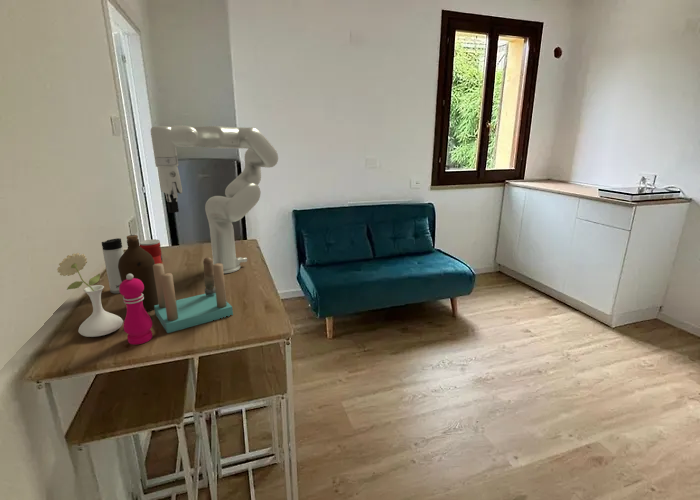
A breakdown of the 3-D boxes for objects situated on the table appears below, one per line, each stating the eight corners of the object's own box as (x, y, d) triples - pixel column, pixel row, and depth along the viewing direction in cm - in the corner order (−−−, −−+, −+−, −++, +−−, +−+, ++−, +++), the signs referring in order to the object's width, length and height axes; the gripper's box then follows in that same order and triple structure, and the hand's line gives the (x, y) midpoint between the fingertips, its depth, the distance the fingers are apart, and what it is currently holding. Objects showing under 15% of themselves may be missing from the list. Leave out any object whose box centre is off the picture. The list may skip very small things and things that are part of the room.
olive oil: (167, 303, 136) (157, 233, 128) (142, 316, 126) (129, 241, 119) (145, 298, 139) (134, 230, 132) (118, 310, 130) (104, 238, 123)
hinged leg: (213, 291, 137) (210, 255, 132) (216, 294, 135) (213, 258, 130) (204, 293, 135) (201, 256, 130) (207, 296, 133) (204, 260, 128)
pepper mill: (133, 333, 116) (121, 269, 110) (158, 332, 116) (148, 269, 110) (121, 346, 109) (108, 278, 103) (148, 345, 109) (137, 278, 103)
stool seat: (216, 298, 139) (211, 253, 134) (233, 315, 127) (228, 265, 122) (155, 313, 128) (147, 264, 123) (167, 333, 116) (159, 279, 111)
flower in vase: (117, 318, 125) (103, 243, 117) (129, 331, 117) (114, 251, 110) (68, 332, 116) (50, 252, 109) (77, 347, 108) (58, 261, 101)
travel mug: (122, 294, 143) (112, 241, 137) (106, 293, 144) (96, 240, 138) (134, 288, 149) (125, 237, 143) (119, 286, 150) (110, 236, 144)
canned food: (166, 264, 175) (163, 240, 172) (149, 269, 169) (145, 245, 166) (156, 261, 179) (153, 238, 176) (139, 266, 173) (135, 242, 170)
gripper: (184, 162, 138) (191, 213, 143) (170, 160, 148) (177, 208, 154) (162, 164, 133) (169, 216, 139) (149, 161, 144) (157, 210, 149)
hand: (173, 212), depth 146 cm, fingers closed
